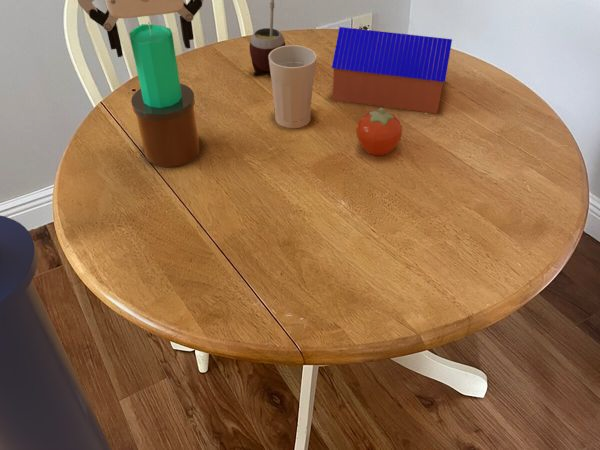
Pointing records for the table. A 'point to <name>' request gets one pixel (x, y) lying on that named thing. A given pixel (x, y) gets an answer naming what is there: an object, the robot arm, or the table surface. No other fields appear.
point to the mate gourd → (264, 46)
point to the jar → (168, 130)
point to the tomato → (379, 132)
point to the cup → (292, 84)
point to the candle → (156, 65)
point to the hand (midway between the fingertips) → (153, 48)
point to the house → (390, 69)
